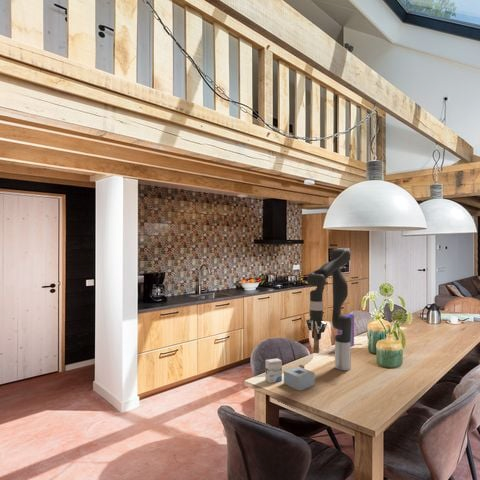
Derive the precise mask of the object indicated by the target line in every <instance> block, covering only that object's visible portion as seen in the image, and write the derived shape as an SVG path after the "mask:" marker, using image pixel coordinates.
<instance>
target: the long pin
mask: <svg viewBox="0 0 480 480" xmlns="http://www.w3.org/2000/svg"><path fill="white" fill-rule="evenodd" d="M313 353H314V354H319V353H320V340H317V329H316V327H314V339H313Z"/></svg>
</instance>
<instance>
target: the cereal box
mask: <svg viewBox="0 0 480 480" xmlns="http://www.w3.org/2000/svg"><path fill="white" fill-rule="evenodd" d="M343 315H344V316H348V317H350V318H351V322H352V326H351V338H350V348H352V347H354V346H355V314H353V313H347V314H343ZM336 330H337V331H336V332H337V335H339V334H342V330H339V329H336Z"/></svg>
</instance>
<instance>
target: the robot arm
mask: <svg viewBox="0 0 480 480" xmlns="http://www.w3.org/2000/svg"><path fill="white" fill-rule="evenodd" d="M351 257H352V256H351V252H350V251H349V250H348V249H347V248H346V249H345V248H334V249H332V250H331V252H330V261H329V262H328V261H327V262H326V263H324V264H323V265H321V266H320V267H319V269H316V270H313V271H312V272H310V273H309V274H308V276H307V277H306V283H307V284H308V285H309V286H313V287H316V288H315V289H313V290H310V292H309V317H310V318H308V319H306V320H305V321H306V325H307V327H308V328H307V329H308V330H309V331H310V332H311V338H312V339H313V340H314V327H316V329H317V340H319V341H320V340H321V339H322V334H323V333H324V332H325V330H326V328H327V325H328V324H327V322H324V320H323V318H324V304H323V303H324V299H323V295H324V290H325V286H326V281H327V278H329V277H330V276H331V277H332V317H331V318H332V319H331V322H332V327H333V328H334V329H335V330H337V329H339V330H342V334H339V335H335V337H334V368H335V370H336V369H337V370H338V371H350V370H351V368H352V353H351V347H350V338H351V326H352V322H351V318H350V317H348V316H344V315H345V314H343V315H342V313H341V311H342V306H343V304H344V303H345V301H346V299H347V297H348V294H349V289H348V288H349V287H348V286H349V285H348V283H347V282H348V281H347V280H346V278H345V277H344V275H343V274H342V271H341V268H342V267H343V266H345V265H347V264H348V263H349V262H350V261H351Z"/></svg>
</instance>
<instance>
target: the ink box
mask: <svg viewBox="0 0 480 480" xmlns="http://www.w3.org/2000/svg"><path fill="white" fill-rule="evenodd" d="M264 363H265V373H264V375H265V378H264V379H265V381H266V382H267V383H269V384H270V383H277V382H282V381H283V380H282V378H283V375H282V374H283V361H282V360H281V359H280V358H277V357H276V358H270V359H265V361H264Z"/></svg>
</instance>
